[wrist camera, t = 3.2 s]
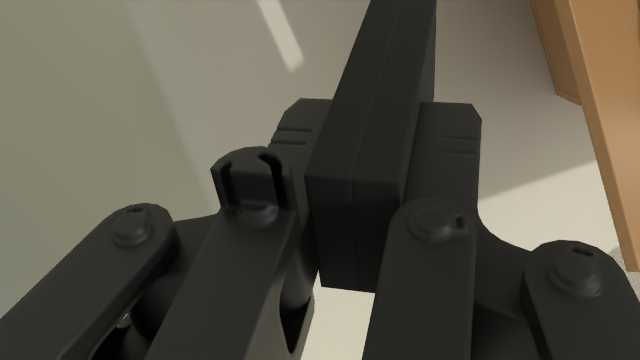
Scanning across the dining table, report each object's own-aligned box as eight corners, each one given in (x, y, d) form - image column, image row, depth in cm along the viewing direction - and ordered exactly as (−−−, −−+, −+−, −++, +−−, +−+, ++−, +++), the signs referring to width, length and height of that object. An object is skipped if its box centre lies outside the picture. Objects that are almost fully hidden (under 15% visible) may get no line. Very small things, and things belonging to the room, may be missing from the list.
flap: (668, 142, 24) (656, 143, 24) (588, -229, 19) (575, -222, 19) (640, 272, 18) (626, 272, 19) (516, -208, 13) (499, -199, 14)
